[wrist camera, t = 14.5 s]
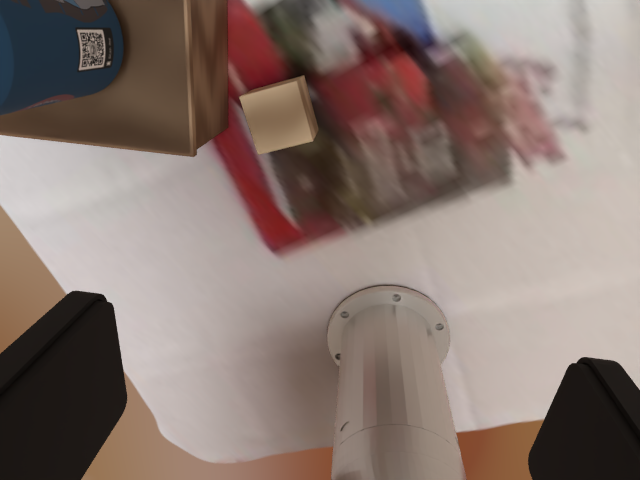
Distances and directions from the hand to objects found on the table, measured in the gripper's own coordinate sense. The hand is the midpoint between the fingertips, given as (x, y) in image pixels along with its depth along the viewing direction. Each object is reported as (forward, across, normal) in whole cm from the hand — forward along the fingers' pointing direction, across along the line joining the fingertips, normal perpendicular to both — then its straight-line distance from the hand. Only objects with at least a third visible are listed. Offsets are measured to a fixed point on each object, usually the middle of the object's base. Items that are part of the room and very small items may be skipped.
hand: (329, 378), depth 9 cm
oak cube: (+30, +6, 0) cm, 31 cm away
